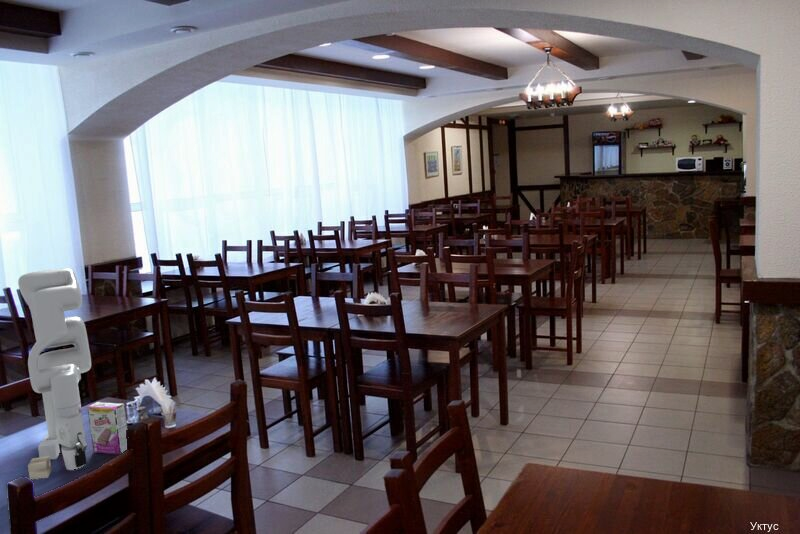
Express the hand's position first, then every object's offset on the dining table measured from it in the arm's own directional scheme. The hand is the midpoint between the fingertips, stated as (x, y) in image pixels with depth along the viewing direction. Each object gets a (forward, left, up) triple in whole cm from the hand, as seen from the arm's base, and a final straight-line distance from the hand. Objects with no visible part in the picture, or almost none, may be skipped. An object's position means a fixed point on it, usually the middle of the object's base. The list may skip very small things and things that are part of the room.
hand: (75, 462), depth 213 cm
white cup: (0, 0, -1) cm, 1 cm away
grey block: (-11, -10, -1) cm, 15 cm away
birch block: (+3, -10, -1) cm, 10 cm away
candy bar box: (-8, +10, -1) cm, 12 cm away
